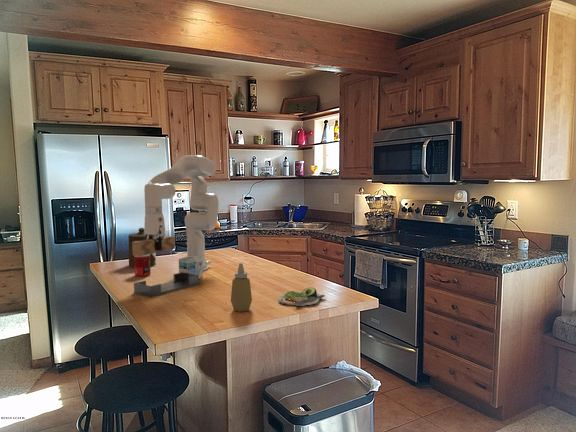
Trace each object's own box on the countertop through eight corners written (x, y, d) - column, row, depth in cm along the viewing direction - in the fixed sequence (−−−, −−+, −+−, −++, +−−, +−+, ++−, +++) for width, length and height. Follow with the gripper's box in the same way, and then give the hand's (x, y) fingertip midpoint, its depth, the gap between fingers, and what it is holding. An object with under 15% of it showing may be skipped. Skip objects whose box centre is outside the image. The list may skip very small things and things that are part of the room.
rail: (168, 248, 209) (167, 235, 209) (175, 248, 207) (174, 236, 207) (132, 255, 190) (132, 241, 189) (139, 256, 188) (139, 242, 187)
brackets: (182, 281, 209) (182, 272, 209) (199, 284, 202) (198, 275, 202) (133, 293, 187) (133, 282, 187) (150, 297, 180) (150, 286, 180)
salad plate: (316, 311, 162) (316, 299, 162) (272, 307, 167) (271, 296, 167) (326, 297, 181) (326, 286, 180) (285, 294, 186) (285, 284, 185)
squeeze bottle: (231, 307, 166) (230, 261, 165) (252, 306, 167) (251, 261, 166) (230, 313, 158) (229, 265, 157) (252, 312, 159) (251, 265, 158)
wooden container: (159, 265, 247) (158, 228, 245) (132, 268, 238) (131, 229, 236) (151, 261, 259) (150, 225, 257) (126, 264, 250) (124, 227, 249)
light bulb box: (188, 281, 209) (187, 259, 208) (178, 279, 212) (178, 258, 211) (203, 277, 218) (203, 256, 217) (193, 275, 221) (193, 255, 220)
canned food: (145, 277, 218) (145, 256, 217) (131, 276, 219) (131, 255, 218) (153, 274, 225) (152, 253, 224) (139, 273, 227) (139, 252, 226)
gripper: (171, 210, 195) (172, 250, 196) (149, 209, 205) (150, 246, 207) (157, 211, 189) (159, 252, 190) (135, 210, 199) (137, 248, 201)
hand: (154, 249), depth 198 cm, fingers closed on rail, 5 cm apart
